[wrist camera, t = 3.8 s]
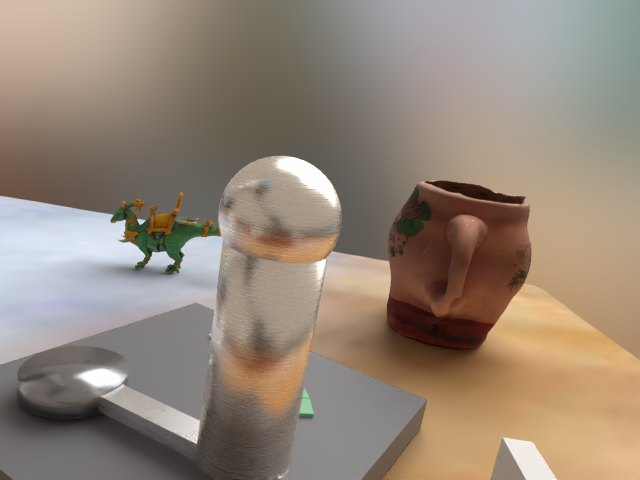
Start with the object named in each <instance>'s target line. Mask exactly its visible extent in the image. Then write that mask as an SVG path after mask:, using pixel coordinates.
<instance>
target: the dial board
mask: <svg viewBox="0 0 640 480" xmlns="http://www.w3.org/2000/svg"><path fill="white" fill-rule="evenodd" d="M213 316H214V310H212V309H210V308H207V307H205V306H203V305H200V304H198V303H194V304H191V305H188V306H185V307H182V308H179V309H175V310H172V311H169V312H166V313H163V314H160V315H156V316H153V317H150V318H147V319H144V320H141V321H137V322H134V323H131V324H128V325H125V326H122V327H118V328H115V329H112V330H109V331H106V332H103V333H100V334H96V335H93V336H90V337H87V338H84V339H81V340H77V341H74V342H71V343H68V344H65V345H62V346H58V347H55V348H52V349H56V348H61V347H70V346H91V347H99V348H103V349H107V350H111V351H113V352H116V353H118V354H119V355H121V356H122V357H124V358H125V359H126V360H127V362H128V364H129V379H128V387H129V388H131V389H133V390H136V391H138V392H140V393H142V394H144V395H146V396H148V397H150V398H153V399H155V400H157V401H159V402H161V403H163V404H165V405H167V406H169V407H172V408H174V409H176V410H178V411H180V412H182V413H184V414H186V415H189V416H191V417H193V418H195V419H197V420H199V421H200V416H201V408H202V401H203V393H204V385H205V378H206V370H207V362H208V354H209V347H210V339H211V331H212V324H213ZM49 350H51V349H49ZM46 351H47V350H46ZM43 352H44V351H43ZM39 353H41V352H39ZM39 353H36V354H39ZM36 354H33V355H30V356H27V357H24V358H20V359H17V360H14V361H11V362H8V363H5V364H2V365H0V480H214V479H212V478H210V477H209V476H208V475H206V474H205V473H204V472H203V471H202V469H201V468H200V467H199V465H198V463H197V461H195V460H193V459H191V458H189V457H187V456H185V455H183V454H181V453H179V452H177V451H175V450H173V449H171V448H169V447H167V446H165V445H164V444H162V443H160V442H158V441H156V440H154V439H152V438H150V437H148V436H146V435H144V434H142V433H140V432H138V431H136V430H134V429H132V428H130V427H128V426H126V425H124V424H122V423H120V422H119V421H117V420H115V419H113V418H111V417H109V416H107V415H105V414H103V413H102V414H99V415H96V416H93V417H88V418H83V419H77V420H52V419H45V418H41V417H37V416H34V415H32V414H30V413H28V412H26V411H25V410H23V409H22V408H21V407H20V406H19V404H18V402H17V373H18V369H19V368H20V366H21V365H22V364H23V363H24V362H25V361H26V360H28V359H29V358H31V357H32V356H34V355H36ZM426 403H427V400H426V399H423V398H421V397H418V396H416V395H414V394H411V393H409V392H407V391H404V390H402V389H399V388H397V387H395V386H392V385H390V384H388V383H385V382H383V381H380V380H378V379H376V378H373V377H371V376H369V375H366V374H364V373H362V372H359V371H357V370H354V369H352V368H350V367H347V366H345V365H343V364H340V363H338V362H335V361H333V360H331V359H328V358H326V357H324V356H321V355H319V354H316V353H314V352H312V351H311V352H310V357H309V363H308V369H307V374H306V380H305V385H304V391H303V397H302V402H301V408H300V413H299V419H298V424H297V430H296V436H295V441H294V447H293V452H292V458H291V463H290V467H289V469H288V470H289V473H288V479H287V480H381V479H382V478H383V477H384V475H385V474H386V473H387V472H388V470H389V469H390V468H391V466H392V465H393V464H394V462H395V461H396V460H397V458H398V457H399V456H400V455H401V453H402V452H403V451H404V449H405V448H406V447H407V445H408V444H409V443H410V441H411V440H412V439H413V438H414V436H415V435H416V434H417V432H418V431H419V430H420V428H421V423H422V419H423V415H424V411H425V407H426Z"/></svg>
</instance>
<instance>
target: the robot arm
mask: <svg viewBox="0 0 640 480" xmlns="http://www.w3.org/2000/svg"><path fill="white" fill-rule="evenodd" d="M491 480H557V479H556V478H555V476H554V475H553V473H552V471H551V470H550V468H549V467H548V465H547V464H546V462H545V461H544V459H543V458H542V456H541V454H540V453H539V451H538V450H537V448H536V447H535V445H534V444H533V442H528V441H522V440H516V439H509V438H502V441H501V445H500V448H499V452H498V455H497V459H496V462H495V466H494V470H493V473H492V477H491Z"/></svg>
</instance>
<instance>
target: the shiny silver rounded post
mask: <svg viewBox="0 0 640 480" xmlns="http://www.w3.org/2000/svg"><path fill="white" fill-rule="evenodd" d="M341 219H342V217H341V206H340V202H339V199H338V196H337V193H336V191H335V189H334V187H333V186H332V184H331V182H330V181H329V180H328V179H327V177H326V176H325V175H324V174H323V173H322V172H321V171H320V170H318V169H317V168H316V167H314V166H313V165H311V164H309V163H307V162H305V161H303V160H300V159H297V158H293V157H288V156H272V157H266V158H263V159H259V160H257V161H254V162H252V163H250V164H249V165H247V166H246V167H244V168H243V169H242V170H240V171H239V172H238V173H237V174H236V175H235V176H234V177H233V178H232V179H231V181H230V182H229V184H228V185H227V187H226V189H225V191H224V193H223V195H222V199H221V202H220V207H219V217H218V220H219V228H220V233H221V236H222V239H223V247H222V254H221V262H220V270H219V277H218V285H217V293H216V301H215V308H214V316H213V324H212V331H211V339H210V347H209V354H208V362H207V370H206V378H205V385H204V393H203V401H202V408H201V416H200V421H199V420H197V419H195V418H193V417H191V416H189V415H186V414H184V413H182V412H180V411H178V410H176V409H174V408H172V407H169V406H167V405H165V404H163V403H161V402H159V401H157V400H155V399H153V398H150V397H148V396H146V395H144V394H142V393H140V392H138V391H136V390H133V389H131V388H129V387H128V379H129V364H128V362H127V360H126V359H125V358H124V357H122V356H121V355H119V354H118V353H116V352H113V351H111V350H107V349H103V348H99V347H91V346H70V347H61V348H56V349H51V350H47V351H44V352H41V353H39V354H36V355H34V356H32V357H31V358H29V359H28V360H26V361H25V362H24V363H23V364H22V365H21V366H20V368H19V369H18V373H17V402H18V404H19V406H20V407H21V408H22V409H23V410H25V411H26V412H28V413H30V414H32V415H34V416H37V417H41V418H45V419H52V420H77V419H83V418H88V417H93V416H96V415H99V414H102V413H103V414H105V415H107V416H109V417H111V418H113V419H115V420H117V421H119V422H120V423H122V424H124V425H126V426H128V427H130V428H132V429H134V430H136V431H138V432H140V433H142V434H144V435H146V436H148V437H150V438H152V439H154V440H156V441H158V442H160V443H162V444H164V445H165V446H167V447H169V448H171V449H173V450H175V451H177V452H179V453H181V454H183V455H185V456H187V457H189V458H191V459H193V460H195V461H197V463H198V465H199V467H200V468H201V469H202V471H203V472H204V473H205V474H206V475H208V476H209V477H210V478H212V479H214V480H287V479H288V473H289V470H288V469H289V467H290V463H291V458H292V452H293V447H294V441H295V436H296V430H297V424H298V419H299V413H300V408H301V402H302V397H303V391H304V385H305V380H306V374H307V369H308V363H309V357H310V352H311V346H312V341H313V335H314V330H315V324H316V318H317V313H318V307H319V302H320V296H321V290H322V285H323V279H324V274H325V268H326V262H327V257H328V255H329V254H330V253H331V251H332V250H333V248H334V246H335V244H336V242H337V239H338V237H339V233H340V229H341V221H342V220H341Z"/></svg>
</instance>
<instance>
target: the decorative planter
mask: <svg viewBox="0 0 640 480" xmlns="http://www.w3.org/2000/svg"><path fill="white" fill-rule="evenodd" d="M529 208H530V206H529V203H528V200H527V197H522V196H521V197H520V196H513V195H507V194H501V193H497V192H495V191H493V190H490V189H487V188H485V187H482V186H479V185H474V184H466V183H457V182H450V181H442V180H433V181H423V182H420V183H418V184H417V185H416V187H415V189H414V191H413V193H412V195H411V196H410V198H409V199H408V201H407V202H406V204H405V205H404V206H403V208H402V209H401V211H400V212H399V214H398V216H397V217H396V219H395V221H394V223H393V225H392V227H391V230H390V234H389V240H388V254H389V263H390V269H391V287H390V293H389V299H388V303H387V317H388V321H389V323H390V325H391V326H392V327H393V328H394V329H395V330H396V331H397V332H399V333H401V334H403V335H406V336H408V337H411V338H415V339H418V340H420V341H423V342H427V343H431V344H436V345H442V346H448V347H455V348H472V347H477V346H479V345H481V344H482V343H483V342H484V341H485V339H486V337H487V334H488V332H489V331H490V330H491V328H492V327H493V326H494V325H495V323H496V322H497V320H498V319H499V317H500V316H501V315H502V313H503V312H504V311H505V309H506V308H507V306H508V304H509V302H510V301H511V299H512V298H513V297H514V296H515V294H516V293H517V292H518V291H519V290H520V289H521V287H522V286H523V284H524V282H525V279H526V277H527V274H528V271H529V268H530V263H531V243H530V240H529V236H528V230H527V222H528V218H529V212H530V209H529Z"/></svg>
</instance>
